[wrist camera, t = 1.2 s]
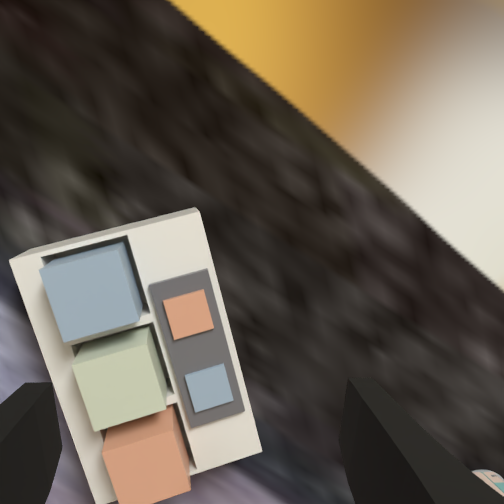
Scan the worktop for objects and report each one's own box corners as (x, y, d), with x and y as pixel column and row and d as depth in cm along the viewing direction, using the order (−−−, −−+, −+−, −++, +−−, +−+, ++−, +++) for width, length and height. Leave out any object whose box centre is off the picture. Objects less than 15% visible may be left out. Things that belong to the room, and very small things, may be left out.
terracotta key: (127, 477, 21) (122, 513, 19) (109, 422, 21) (101, 453, 19) (188, 457, 22) (190, 490, 20) (172, 402, 21) (172, 430, 19)
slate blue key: (75, 323, 20) (63, 342, 18) (54, 259, 19) (38, 270, 17) (142, 304, 20) (139, 321, 18) (123, 241, 20) (117, 249, 17)
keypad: (105, 466, 24) (95, 514, 20) (30, 248, 21) (4, 262, 18) (251, 419, 25) (264, 457, 21) (195, 207, 22) (200, 212, 19)
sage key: (102, 403, 21) (94, 431, 18) (82, 343, 20) (71, 365, 18) (166, 383, 21) (166, 409, 19) (149, 324, 20) (146, 343, 18)
